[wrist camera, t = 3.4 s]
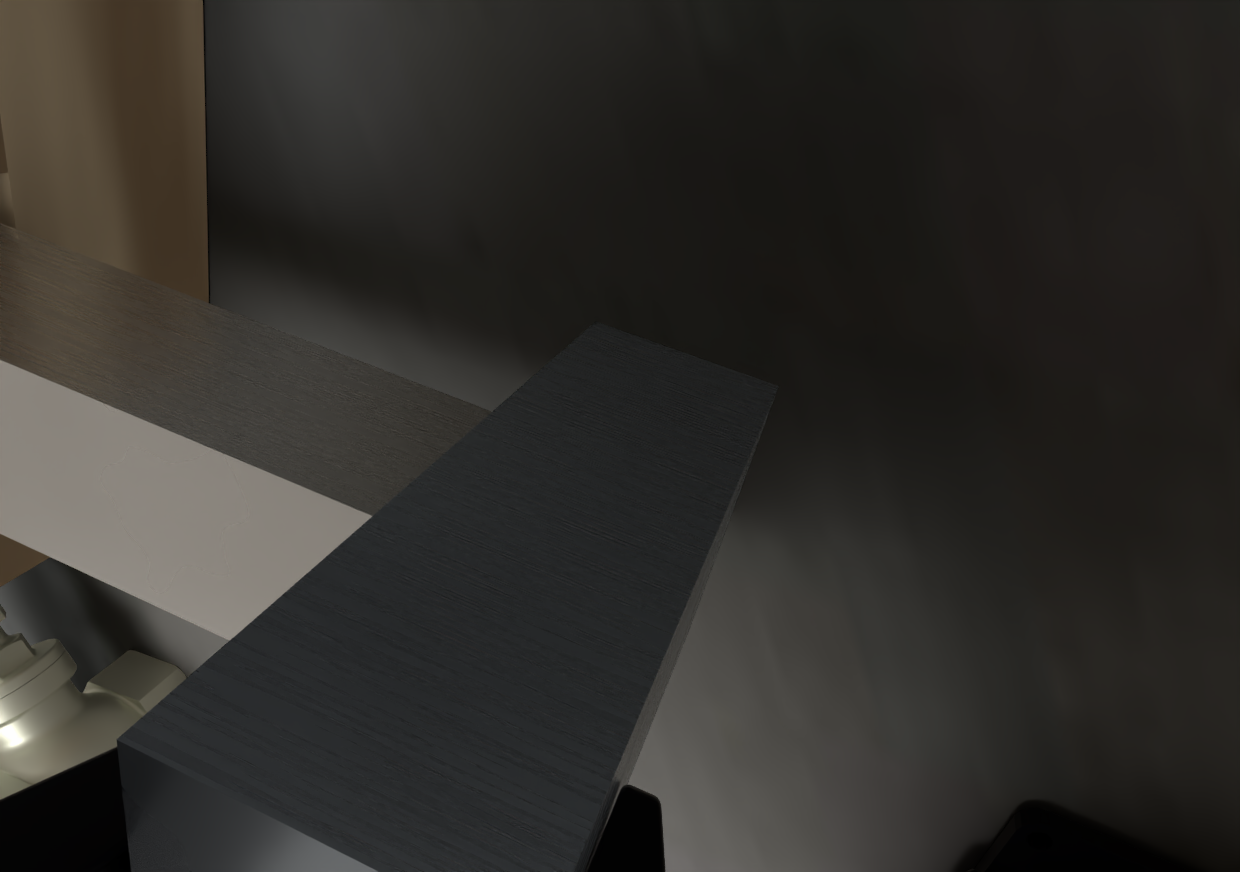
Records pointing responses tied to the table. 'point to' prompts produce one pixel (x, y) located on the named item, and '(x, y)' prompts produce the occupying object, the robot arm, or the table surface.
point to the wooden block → (105, 143)
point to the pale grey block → (368, 569)
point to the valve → (67, 707)
